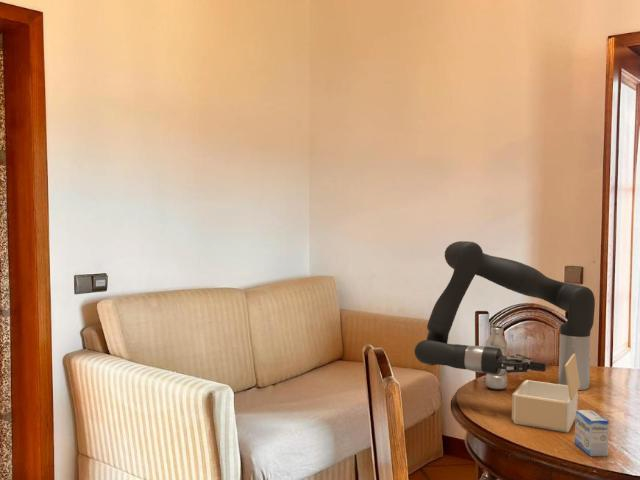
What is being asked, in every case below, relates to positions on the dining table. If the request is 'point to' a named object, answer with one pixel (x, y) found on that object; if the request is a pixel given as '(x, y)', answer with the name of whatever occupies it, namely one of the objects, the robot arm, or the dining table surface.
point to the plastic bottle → (500, 342)
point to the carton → (544, 406)
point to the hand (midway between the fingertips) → (545, 367)
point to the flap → (572, 376)
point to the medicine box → (591, 433)
